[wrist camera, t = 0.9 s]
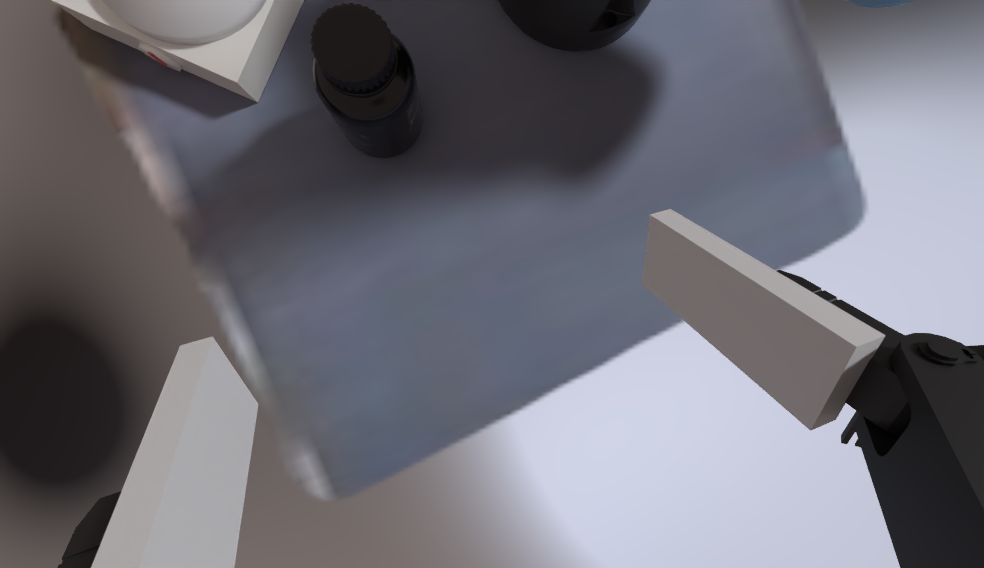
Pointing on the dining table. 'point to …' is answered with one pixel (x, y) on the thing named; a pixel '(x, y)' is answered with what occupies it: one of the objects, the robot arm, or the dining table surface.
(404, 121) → the supplement bottle
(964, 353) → the robot arm
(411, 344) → the dining table surface
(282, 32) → the dial scale
